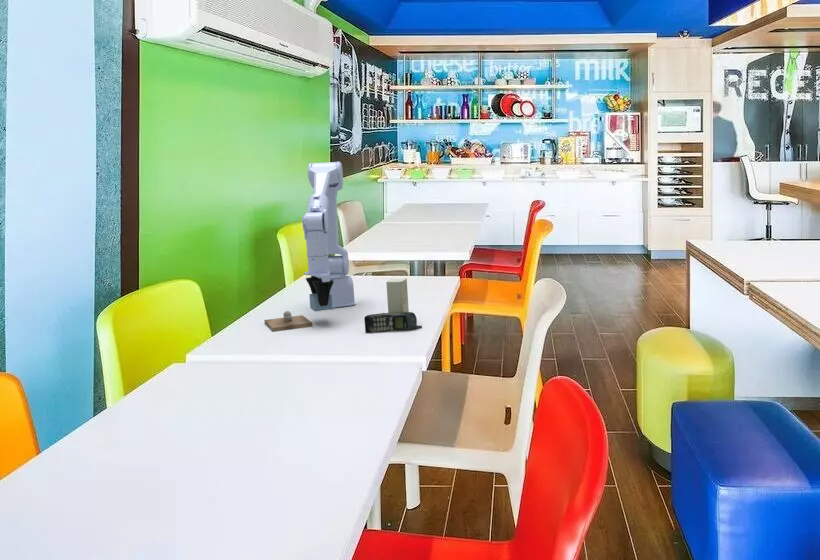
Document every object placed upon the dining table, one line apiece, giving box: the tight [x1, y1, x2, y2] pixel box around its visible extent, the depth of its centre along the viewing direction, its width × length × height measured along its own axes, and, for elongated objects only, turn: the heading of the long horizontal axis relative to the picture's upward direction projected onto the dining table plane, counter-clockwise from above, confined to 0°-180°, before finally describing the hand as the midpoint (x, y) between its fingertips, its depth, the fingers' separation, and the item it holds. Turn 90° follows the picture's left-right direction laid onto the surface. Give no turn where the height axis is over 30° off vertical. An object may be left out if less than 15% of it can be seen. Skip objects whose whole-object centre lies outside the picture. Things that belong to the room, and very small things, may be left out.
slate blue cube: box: [309, 293, 333, 312], centre depth 206 cm, size 5×5×4 cm
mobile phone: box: [363, 311, 423, 334], centre depth 195 cm, size 5×3×15 cm
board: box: [264, 310, 313, 332], centre depth 206 cm, size 11×11×4 cm
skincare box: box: [386, 277, 410, 313], centre depth 201 cm, size 6×4×12 cm
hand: (321, 303), depth 206 cm, fingers closed on slate blue cube, 5 cm apart
